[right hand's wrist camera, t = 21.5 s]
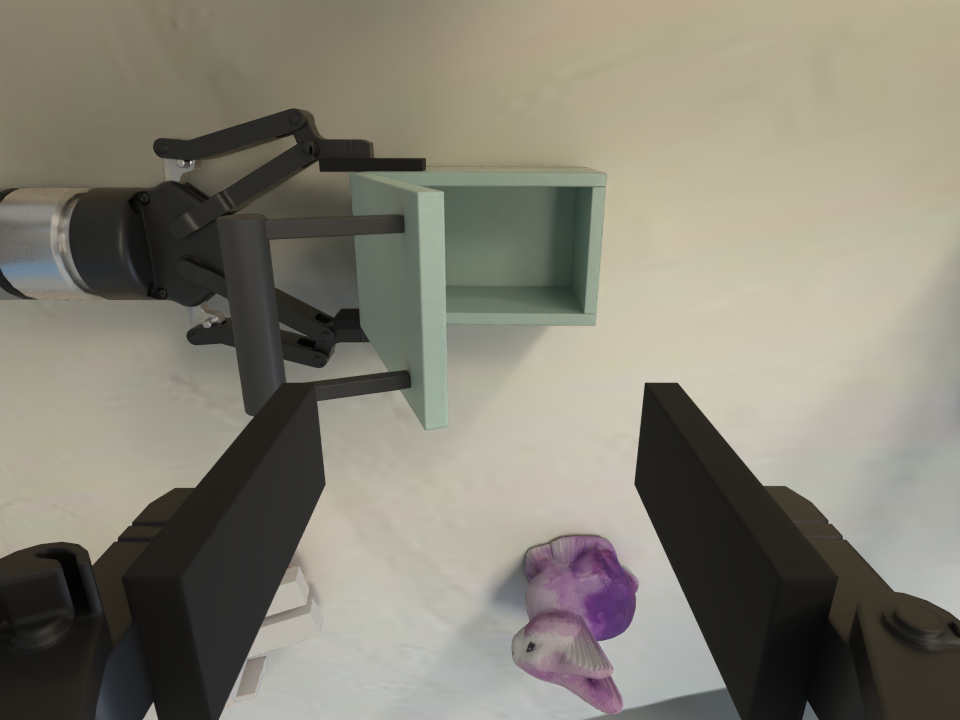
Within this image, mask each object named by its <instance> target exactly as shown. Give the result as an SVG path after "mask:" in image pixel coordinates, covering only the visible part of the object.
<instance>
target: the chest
mask: <svg viewBox="0 0 960 720" xmlns="http://www.w3.org/2000/svg"><path fill="white" fill-rule="evenodd" d="M364 172H366V173H370V174H374V175H378V176H382V177H386V178H391V179H395V180H399V181H403V182H407V183H411V184H415V185H419V186H423V187H427V188H431V189H435V190H439V191H443V193H444V226H445V282H446V324H479V325H567V326H595V325H596V313H597V301H598V287H599V273H600V260H601V246H602V232H603V219H604V205H605V191H606V188H605V186H606V177H607V174H606V173H604V172H600V171H597V170H593V169H590V168H586V167H426V170H424V171H364Z"/></svg>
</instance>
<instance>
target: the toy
mask: <svg viewBox="0 0 960 720" xmlns="http://www.w3.org/2000/svg"><path fill="white" fill-rule="evenodd" d="M309 589H310V588H309V586H308V584H307V581H306V579H305V577H304V575H303V572H302V570H301V568H300V565H299V566H295V567H292V568H289V569H287V570H286V572H285V575H284V577H283V579H282V581H281V583H280V586H279V588H278V590H277V592H276V594H275V597H274V599H273V601H272V603H271V605H270V608H269V610H268V612H267V614H266V616H265V619H264V621H263V623H262V625H261V627H260V630H259V632H258V634H257V636H256V638H255V641H254V643H253V645H252V647H251V649H250V652H249V654H248V656H247V658H246V660H245V663H244V665H243V667H242V669H241V671H240V674H239V676H238V678H237V680H236V682H235V685H234V687H233V689H232V691H231V693H230V696H229V698H228V700H227V702H226V704H225V707H228V706H231V705H234V703H235V702H239V701H244V700H248V699H253V698H256V697H257V694H258V691H259V687H260V684H261V681H262V678H263V674H264V671H265V668H266V665H267V661H268V659H267V656H263V657H259V658H254V659H250V660H247V659H248V658H249V657H252V656H255V655H258V654H262V653H265V652H268V651H271V650H274V649H278V648H281V647H284V646H287V645H291V644H294V643H297V642H300V641H304V640H307V639H310V638H313V637H317V636H320V632H321V626H322V620H323V618H322V616H321V613H320V611H319V609H318V606H317V604H316V602H315V600H314V597H310V598H308V593H309ZM143 720H158V718H157V714H156V710H155V706H154V702H153V703H152V705H151V707H150V709H149V710H148V712H147V714H146V715H145V717H144V719H143Z"/></svg>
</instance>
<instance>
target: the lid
mask: <svg viewBox="0 0 960 720" xmlns="http://www.w3.org/2000/svg"><path fill="white" fill-rule="evenodd" d="M350 185H351V199H352V213H353V216H333V217H306V218H279V219H266V216H264V215H257V214H240V215H227V216H221V217H218V218H217V225H218V232H219V239H220V245H221V252H222V259H223V266H224V272H225V279H226V286H227V292H228V299H229V306H230V313H231V319H232V326H233V333H234V340H235V346H236V353H237V360H238V367H239V373H240V380H241V387H242V393H243V400H244V407H245V412H246V413H247V414H248V415H250V416H254V417H255V415H256V414H257V413H258V412H259V411H260V409H261V408H262V407H263V406H264V404H265V403H266V402H267V401H268V400H269V398H270V397H271V396H272V395H273V394H274V392H275V391H276V390H277V389H278V388H279V386H280V385H281V384H282V383H286V378H285V369H284V361H283V353H282V344H281V336H280V328H279V319H278V311H277V303H276V294H275V286H274V278H273V269H272V261H271V253H270V244H269V239H290V238H311V237H331V236H352V235H354V242H355V256H356V270H357V284H358V299H359V313H360V326H361V328H362V329H363V331H364V333H365V334H366V336H367V337H368V339H369V341H370V342H371V344H372V345H373V347H374V349H375V350H376V352H377V354H378V355H379V357H380V358H381V360H382V362H383V363H384V365H385V366H386V368H387V370H388V371H389V372H385V373H377V374H369V375H362V376H354V377H346V378H338V379H330V380H322V381H314V382H306V383H315V388H316V397H317V401H321V400H328V399H336V398H343V397H350V396H357V395H365V394H372V393H379V392H387V391H394V390H401V392H402V394H403V395H404V397H405V398H406V400H407V402H408V403H409V405H410V407H411V408H412V410H413V411H414V413H415V415H416V416H417V418H418V419H419V421H420V423H421V424H422V426H423V427H424V429H425V430H432V429H438V428H444V427H448V393H447V337H446V282H445V226H444V193H443V191H439V190H435V189H431V188H427V187H423V186H419V185H415V184H411V183H407V182H403V181H399V180H395V179H391V178H386V177H382V176H378V175H374V174H370V173H366V172H353V173H350Z"/></svg>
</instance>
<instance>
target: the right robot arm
mask: <svg viewBox="0 0 960 720" xmlns="http://www.w3.org/2000/svg"><path fill="white" fill-rule="evenodd" d="M324 487H325V474H324V465H323V455H322V445H321V436H320V426H319V416H318V407H317V397H316V388H315V383H282V384H281V385H280V386H279V388H278V389H277V390H276V391H275V392H274V394H273V395H272V396H271V397H270V398H269V400H268V401H267V402H266V403H265V404H264V406H263V407H262V408H261V409H260V411H259V412H258V413H257V414H256V415H255V417H254V418H253V419H252V420H251V421H250V423H249V424H248V425H247V426H246V427H245V429H244V430H243V431H242V432H241V433H240V435H239V436H238V437H237V438H236V439H235V441H234V442H233V443H232V444H231V445H230V447H229V448H228V449H227V450H226V452H225V453H224V454H223V455H222V456H221V458H220V459H219V460H218V461H217V462H216V464H215V465H214V466H213V467H212V468H211V470H210V471H209V472H208V473H207V474H206V476H205V477H204V478H203V479H202V480H201V482H200V483H199V484H198V485H197V487H196V488H174V489H173V490H171V491H169V492H168V493H166V494H165V495H163V496H161V497H160V498H158V499H156V500H155V501H153V502H152V503H150V504H149V505H148V506H147V507H146V508H145V509H144V510H143V511H142V512H141V514H140V515H139V516H138V517H137V518H136V519H135V520H134V521H133V522H132V526H129V527H128V528H127V529H126V530H125V531H124V532H123V533H122V534H121V535H120V536H119V537H118V542H114V543H113V544H112V545H111V546H110V547H109V548H108V549H107V550H106V552H105V553H104V554H103V555H102V556H101V557H100V558H99V559H98V560H97V561H96V562H95V564H94V565H93V566H92V564H91V561H90V557H89V554H88V551H87V550H86V549H84V548H83V547H82V546H80V545H79V544H73V543H66V542H57V543H48V544H40V545H36V546H33V547H30V548H26V549H23V550H19V551H16V552H14V553H12V554H10V555H8V556H5V557H3V558H1V559H0V720H143V719H144V717H145V715H146V714H147V712H148V710H149V709H150V707H151V705H152V703H153V702H154V706H155V710H156V714H157V718H158V720H219V718H220V715H221V713H222V711H223V709H224V707H225V704H226V702H227V700H228V698H229V696H230V693H231V691H232V689H233V687H234V685H235V682H236V680H237V678H238V676H239V674H240V671H241V669H242V667H243V665H244V663H245V660H246V658H247V656H248V654H249V652H250V649H251V647H252V645H253V643H254V641H255V638H256V636H257V634H258V632H259V630H260V627H261V625H262V623H263V621H264V619H265V616H266V614H267V612H268V610H269V608H270V605H271V603H272V601H273V599H274V597H275V594H276V592H277V590H278V588H279V586H280V583H281V581H282V579H283V577H284V575H285V572H286V570H287V568H288V566H289V564H290V561H291V559H292V557H293V555H294V553H295V550H296V548H297V546H298V544H299V542H300V539H301V537H302V535H303V533H304V531H305V528H306V526H307V524H308V522H309V520H310V517H311V515H312V513H313V511H314V509H315V506H316V504H317V502H318V500H319V498H320V495H321V493H322V491H323V489H324ZM635 487H636V489H637V491H638V493H639V495H640V498H641V500H642V502H643V504H644V506H645V509H646V511H647V513H648V515H649V517H650V520H651V522H652V524H653V526H654V528H655V531H656V533H657V535H658V537H659V539H660V542H661V544H662V546H663V548H664V550H665V553H666V555H667V557H668V559H669V561H670V564H671V566H672V568H673V570H674V572H675V575H676V577H677V579H678V581H679V583H680V586H681V588H682V590H683V592H684V594H685V597H686V599H687V601H688V603H689V605H690V608H691V610H692V612H693V614H694V616H695V619H696V621H697V623H698V625H699V627H700V630H701V632H702V634H703V636H704V638H705V641H706V643H707V645H708V647H709V649H710V652H711V654H712V656H713V658H714V660H715V663H716V665H717V667H718V669H719V671H720V674H721V676H722V678H723V680H724V682H725V685H726V687H727V689H728V691H729V693H730V696H731V698H732V700H733V702H734V704H735V707H736V709H737V711H738V713H739V715H740V718H741V720H802V718H803V714H804V710H805V706H806V702H807V700H808V702H809V704H810V705H811V707H812V709H813V710H814V712H815V714H816V715H817V717H818V719H819V720H960V620H958V619H957V618H956V617H955V616H953V615H952V614H951V613H949V612H948V611H946V610H944V609H942V608H940V607H938V606H936V605H934V604H932V603H931V602H929V601H926V600H923V599H920V598H917V597H914V596H911V595H908V594H905V593H899V592H894V591H893V590H892V589H891V588H890V587H889V585H888V584H887V583H886V582H885V581H884V580H883V579H882V578H881V577H880V576H879V575H878V574H877V573H876V571H875V570H874V569H873V568H872V567H871V566H870V565H869V564H868V563H867V562H866V561H865V560H864V558H863V557H862V556H861V555H860V554H859V553H858V552H857V551H856V550H855V549H854V548H853V547H852V546H851V544H850V543H849V542H848V541H847V540H843V538H842V537H843V536H842V535H841V534H840V533H839V531H838V530H837V529H836V528H835V527H834V526H833V525H832V524H829V523H828V520H827V519H826V517H825V516H824V515H823V514H822V513H821V512H820V511H819V510H818V509H817V508H816V507H815V506H814V505H813V503H812V502H810V501H809V500H807V499H806V498H804V497H802V496H801V495H799V494H797V493H796V492H794V491H793V490H791V489H789V488H788V487H786V486H763V485H762V484H761V483H760V482H759V480H758V479H757V478H756V477H755V476H754V474H753V473H752V472H751V471H750V470H749V468H748V467H747V466H746V465H745V464H744V462H743V461H742V460H741V459H740V458H739V456H738V455H737V454H736V453H735V452H734V450H733V449H732V448H731V447H730V445H729V444H728V443H727V442H726V441H725V439H724V438H723V437H722V436H721V435H720V433H719V432H718V431H717V430H716V429H715V427H714V426H713V425H712V424H711V423H710V421H709V420H708V419H707V418H706V417H705V415H704V414H703V413H702V412H701V411H700V409H699V408H698V407H697V406H696V404H695V403H694V402H693V401H692V400H691V398H690V397H689V396H688V395H687V394H686V392H685V391H684V390H683V389H682V388H681V386H680V385H679V384H678V383H645V388H644V397H643V407H642V416H641V426H640V436H639V445H638V455H637V465H636V474H635Z"/></svg>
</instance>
